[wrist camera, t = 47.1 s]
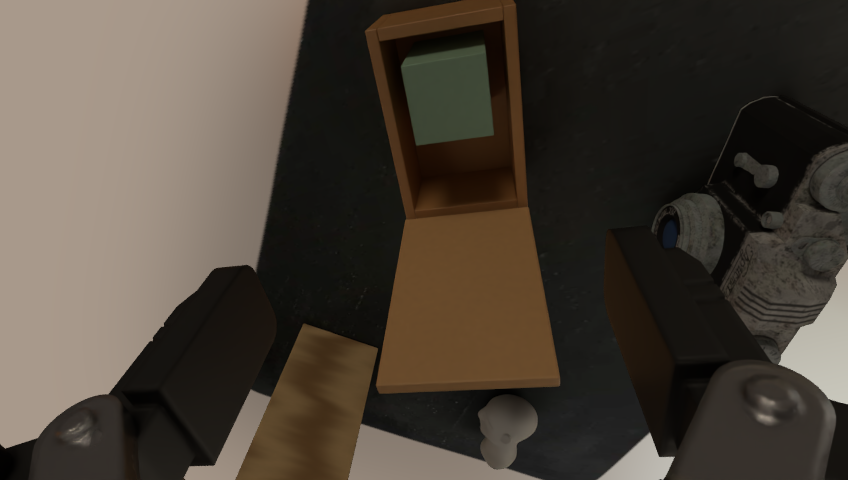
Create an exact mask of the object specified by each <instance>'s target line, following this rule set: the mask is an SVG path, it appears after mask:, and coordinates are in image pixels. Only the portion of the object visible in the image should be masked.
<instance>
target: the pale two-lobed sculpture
mask: <svg viewBox="0 0 848 480" xmlns="http://www.w3.org/2000/svg"><path fill="white" fill-rule="evenodd" d="M478 417H479V419H480V423H481V426H480V429H481V432H482V433H483V434H484V435H485V436H486V437H485V438H484V439H483V441H482V443H481V453H482V455H483V457H484V459H485V461H486V462H487V463H488V465H489V466H490V467H492V468H493V469H504V468H507V467H508V466H510V465H511V464H512V463H513V461H514V460H515V458H516V455H517V447H516V445H517V443H518V442H520V441H522V440H524V439H526V438H528V437H529V436H530V435H532V434H533V433H534V431H535V429H536V427H537V421H538V420H537V414H536V411H535V409H534V408H533V406H532V405H531V404H530V403H529V402H528V401H526V400H525V399H523V398H521V397H519V396H516V395H510V394H505V395H500V396H496V397H494V398H492V399H491V400H490V401H489V402H488V404H487V405H486V407H484V408H483V409H481V410H480V411H479V412H478Z"/></svg>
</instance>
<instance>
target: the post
mask: <svg viewBox="0 0 848 480" xmlns="http://www.w3.org/2000/svg"><path fill="white" fill-rule="evenodd" d="M377 351H378V348H376V347H373V346H370V345H367V344H364V343H361V342H358V341H355V340H352V339H349V338H346V337H343V336H340V335H337V334H334V333H331V332H328V331H325V330H322V329H319V328H316V327H313V326H310V325H307V324H303V326H302V328H301V331H300V333H299V335H298V337H297V340H296V342H295V344H294V347H293V349H292V351H291V353H290V356H289V358H288V360H287V363H286V365H285V367H284V370H283V372H282V374H281V376H280V379H279V381H278V383H277V386H276V388H275V390H274V392H273V395H272V397H271V400H270V402H269V404H268V406H267V409H266V411H265V413H264V415H263V418H262V420H261V422H260V425H259V427H258V429H257V432H256V434H255V436H254V438H253V441H252V443H251V445H250V447H249V450H248V452H247V454H246V457H245V459H244V461H243V464H242V466H241V468H240V470H239V473H238V475H237V477H236V480H348V477H349V473H350V468H351V464H352V460H353V455H354V451H355V447H356V442H357V438H358V433H359V429H360V425H361V420H362V416H363V412H364V407H365V403H366V399H367V394H368V390H369V386H370V381H371V377H372V373H373V368H374V364H375V360H376V355H377Z"/></svg>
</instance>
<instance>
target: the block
mask: <svg viewBox="0 0 848 480" xmlns="http://www.w3.org/2000/svg"><path fill="white" fill-rule="evenodd" d="M401 71H402V76H403V81H404V86H405V91H406V96H407V102H408V107H409V112H410V117H411V122H412V127H413V132H414V137H415V142H416V145H417V146H419V145H426V144H433V143H441V142H448V141H455V140H463V139H470V138H477V137H485V136H492V135H494V128H493V118H492V108H491V97H490V87H489V77H488V67H487V57H486V48H485V39H484V31H483V30H479V31H474V32H468V33H462V34H457V35H451V36H445V37H439V38H434V39H428V40H422V41H417V42H414V44H413V45H412V47H411V49H410V51H409V53H408V55H407V56H406V58H405V60H404V62H403V64H402V65H401Z"/></svg>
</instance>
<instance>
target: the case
mask: <svg viewBox="0 0 848 480" xmlns="http://www.w3.org/2000/svg"><path fill="white" fill-rule="evenodd" d="M479 30H483V31H484V39H485V48H486V57H487V67H488V77H489V87H490V97H491V108H492V118H493V128H494V135H492V136H485V137H477V138H470V139H463V140H455V141H448V142H441V143H433V144H426V145H419V146H417V145H416V142H415V137H414V132H413V127H412V122H411V117H410V112H409V107H408V102H407V96H406V91H405V86H404V81H403V76H402V71H401V65H402V64H403V62H404V60H405V58H406V56H407V55H408V53H409V51H410V49H411V47H412V45H413V44H414V42H417V41H422V40H428V39H434V38H439V37H445V36H451V35H457V34H462V33H468V32H474V31H479ZM365 34H366V39H367V43H368V47H369V52H370V56H371V61H372V65H373V70H374V74H375V79H376V83H377V88H378V92H379V97H380V101H381V106H382V110H383V115H384V119H385V124H386V128H387V133H388V137H389V142H390V146H391V151H392V155H393V160H394V164H395V169H396V173H397V177H398V182H399V186H400V191H401V195H402V200H403V204H404V209H405V213H406V218H407V220H408V219H416V218H417V219H418V218H428V217H437V216H447V215H456V214H466V213H475V212H485V211H494V210H504V209H513V208H517V207H518V208H523V207H528V198H527V181H526V164H525V147H524V130H523V113H522V96H521V79H520V62H519V45H518V28H517V11H516V4H515V2H514V1H513V0H464V1H458V2H453V3H447V4H442V5H436V6H431V7H425V8H420V9H414V10H409V11H403V12H398V13H392V14H387V15H383V16H381V17H380V18H379V19H378V20H377V21H376V22H375V23H374V24H373V25H371V26H370V27H369V28H368V29H367V30H366V31H365Z"/></svg>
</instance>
